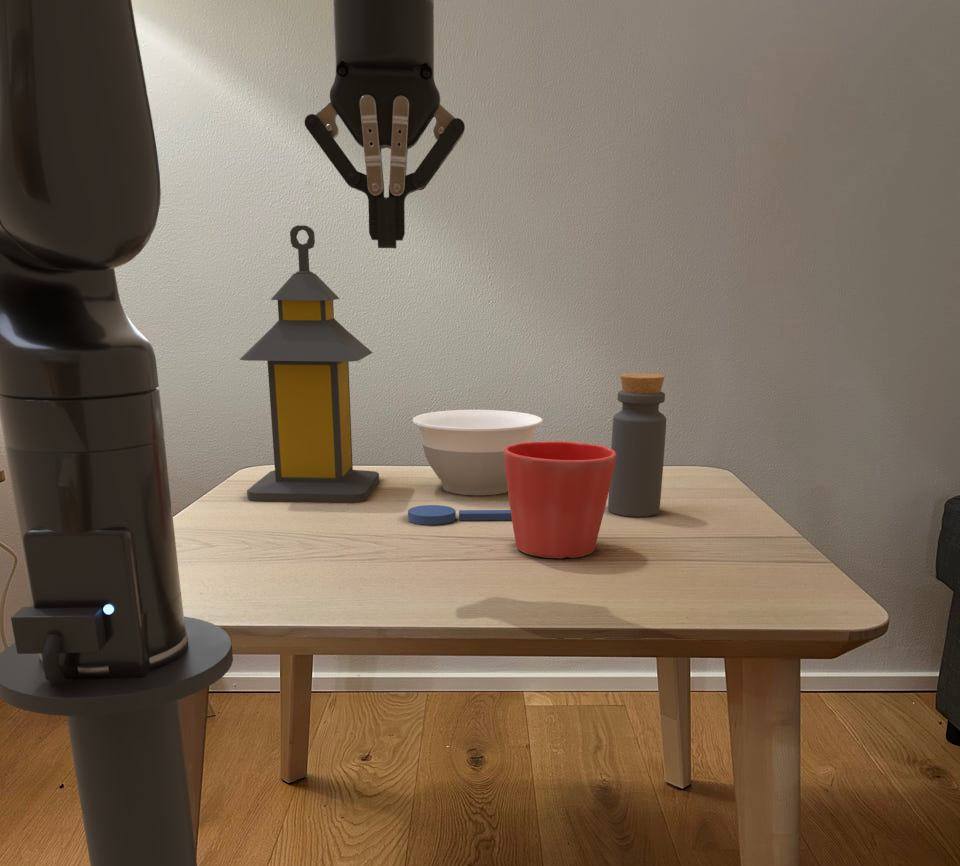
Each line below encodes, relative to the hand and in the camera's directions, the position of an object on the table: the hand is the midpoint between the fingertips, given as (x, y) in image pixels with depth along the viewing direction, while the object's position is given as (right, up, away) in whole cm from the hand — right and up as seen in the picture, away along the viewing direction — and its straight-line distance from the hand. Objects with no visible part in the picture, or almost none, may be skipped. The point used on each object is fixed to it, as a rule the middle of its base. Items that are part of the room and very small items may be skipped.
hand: (387, 247), depth 79 cm
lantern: (-13, -13, +41) cm, 45 cm away
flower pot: (+15, -23, +17) cm, 32 cm away
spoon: (+8, -19, +28) cm, 34 cm away
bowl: (+7, -13, +43) cm, 45 cm away
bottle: (+25, -17, +32) cm, 44 cm away
